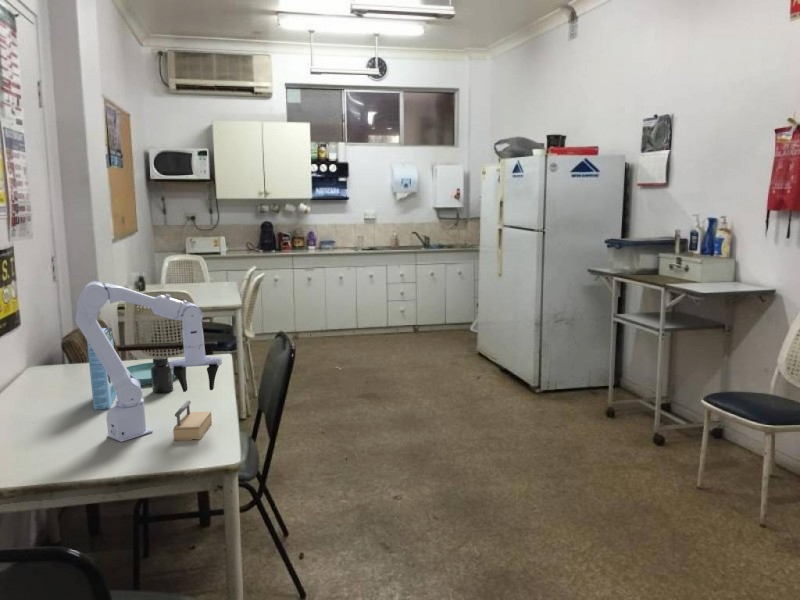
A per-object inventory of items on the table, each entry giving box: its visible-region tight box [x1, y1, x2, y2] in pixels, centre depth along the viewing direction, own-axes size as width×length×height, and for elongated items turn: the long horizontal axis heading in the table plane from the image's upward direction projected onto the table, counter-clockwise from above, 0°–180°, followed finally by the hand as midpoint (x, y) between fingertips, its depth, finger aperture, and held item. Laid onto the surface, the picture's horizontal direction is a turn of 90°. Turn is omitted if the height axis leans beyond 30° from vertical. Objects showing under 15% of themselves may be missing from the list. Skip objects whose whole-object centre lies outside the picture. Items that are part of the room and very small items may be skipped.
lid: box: [173, 400, 212, 429], centre depth 171 cm, size 7×13×4 cm, turn 3°
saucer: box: [125, 361, 177, 386], centre depth 229 cm, size 24×24×3 cm
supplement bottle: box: [151, 355, 174, 395], centre depth 210 cm, size 7×7×12 cm
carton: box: [172, 413, 213, 442], centre depth 172 cm, size 7×13×3 cm, turn 3°
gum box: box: [86, 327, 117, 411], centre depth 200 cm, size 20×5×23 cm, turn 17°
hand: (198, 390), depth 178 cm, fingers open, 7 cm apart
